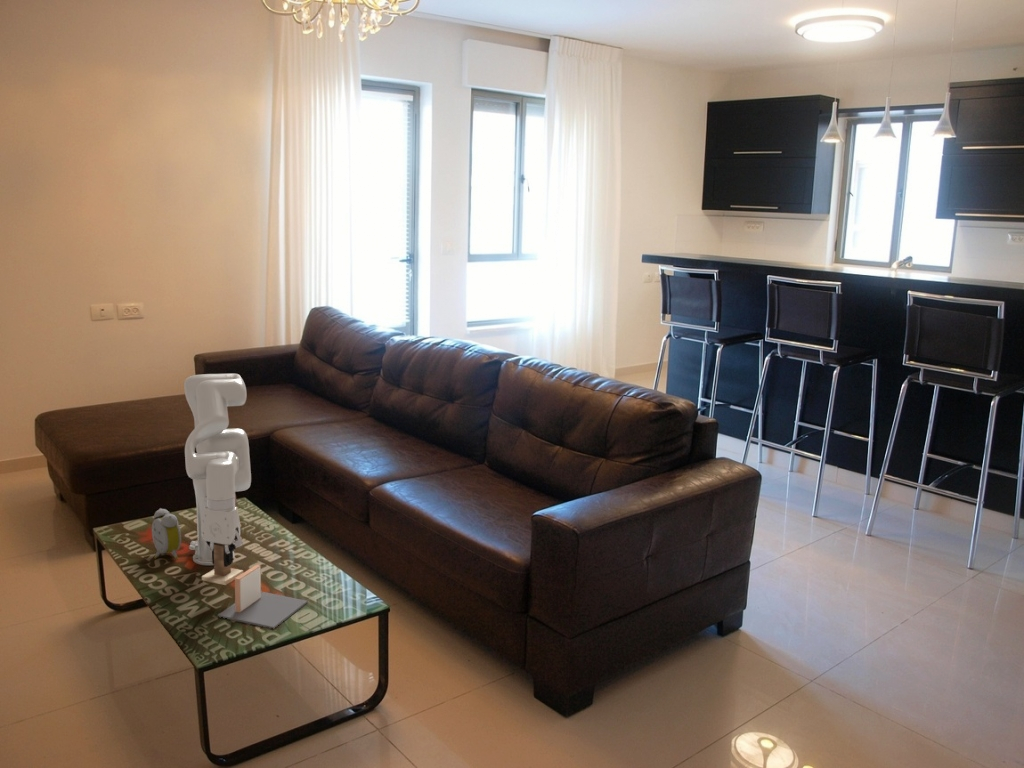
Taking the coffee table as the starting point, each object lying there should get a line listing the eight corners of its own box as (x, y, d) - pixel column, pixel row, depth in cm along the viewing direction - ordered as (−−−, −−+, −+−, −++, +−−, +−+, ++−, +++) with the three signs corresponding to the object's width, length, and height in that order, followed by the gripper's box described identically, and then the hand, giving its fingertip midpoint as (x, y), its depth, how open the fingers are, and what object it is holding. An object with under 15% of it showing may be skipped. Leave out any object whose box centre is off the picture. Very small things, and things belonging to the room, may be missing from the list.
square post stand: (201, 580, 235) (201, 546, 233) (219, 569, 242) (219, 536, 240) (225, 585, 232) (225, 550, 230) (243, 574, 240) (242, 541, 238)
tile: (235, 611, 232) (234, 578, 230) (256, 596, 241) (256, 564, 239) (240, 612, 231) (239, 579, 229) (261, 597, 241) (261, 565, 239)
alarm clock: (182, 559, 266) (181, 515, 263) (161, 564, 261) (159, 519, 258) (168, 548, 274) (166, 505, 271) (147, 553, 269) (145, 509, 266)
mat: (217, 616, 230) (217, 614, 229) (254, 591, 245) (254, 589, 245) (273, 629, 224) (273, 627, 224) (307, 602, 240) (307, 600, 240)
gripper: (187, 502, 232) (189, 563, 235) (237, 511, 227) (238, 573, 231) (205, 494, 239) (207, 554, 242) (254, 502, 234) (255, 563, 238)
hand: (222, 563), depth 236 cm, fingers closed on square post stand, 3 cm apart
